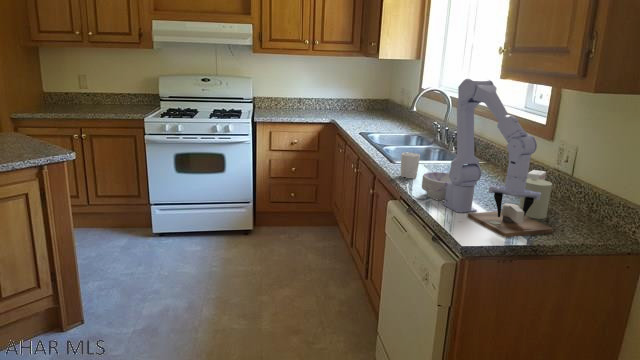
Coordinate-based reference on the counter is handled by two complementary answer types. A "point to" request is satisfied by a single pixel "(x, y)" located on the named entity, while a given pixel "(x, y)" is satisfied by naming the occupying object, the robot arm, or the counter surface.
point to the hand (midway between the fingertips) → (509, 218)
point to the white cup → (409, 164)
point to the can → (538, 206)
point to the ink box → (537, 175)
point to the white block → (513, 212)
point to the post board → (509, 224)
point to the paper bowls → (435, 184)
